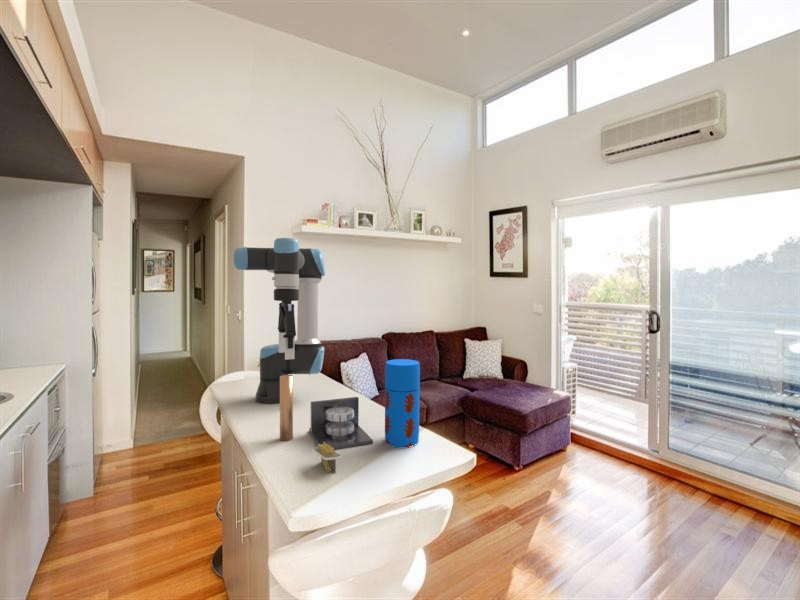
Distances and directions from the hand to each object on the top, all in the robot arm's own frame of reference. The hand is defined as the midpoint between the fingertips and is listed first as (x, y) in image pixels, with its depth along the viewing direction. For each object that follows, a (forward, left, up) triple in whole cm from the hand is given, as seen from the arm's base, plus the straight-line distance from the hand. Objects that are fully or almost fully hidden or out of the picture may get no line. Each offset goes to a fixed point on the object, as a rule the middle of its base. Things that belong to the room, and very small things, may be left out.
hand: (286, 355), depth 126 cm
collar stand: (+5, +16, -27) cm, 31 cm away
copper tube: (0, 0, -27) cm, 27 cm away
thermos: (+16, +33, -27) cm, 45 cm away
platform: (+25, +7, -27) cm, 37 cm away
